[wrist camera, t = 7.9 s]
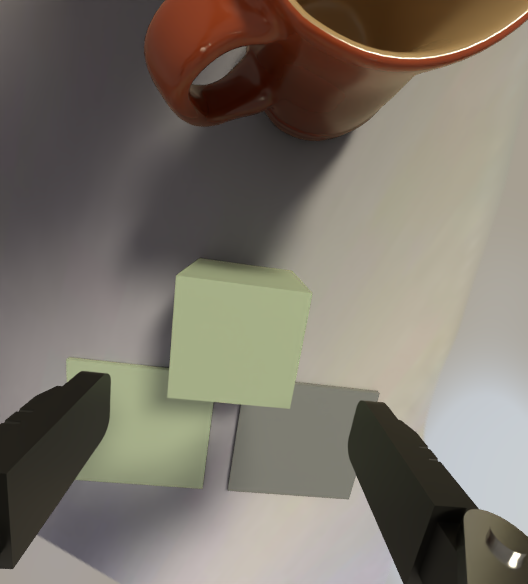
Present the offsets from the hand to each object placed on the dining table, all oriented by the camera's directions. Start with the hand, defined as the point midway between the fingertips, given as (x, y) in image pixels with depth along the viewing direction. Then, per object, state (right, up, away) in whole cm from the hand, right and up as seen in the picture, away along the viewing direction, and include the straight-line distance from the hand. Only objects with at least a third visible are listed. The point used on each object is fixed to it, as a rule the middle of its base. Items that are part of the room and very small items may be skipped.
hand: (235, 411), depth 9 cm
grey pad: (+4, -8, +12) cm, 15 cm away
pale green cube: (-1, +3, +10) cm, 10 cm away
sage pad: (-8, -6, +11) cm, 15 cm away
